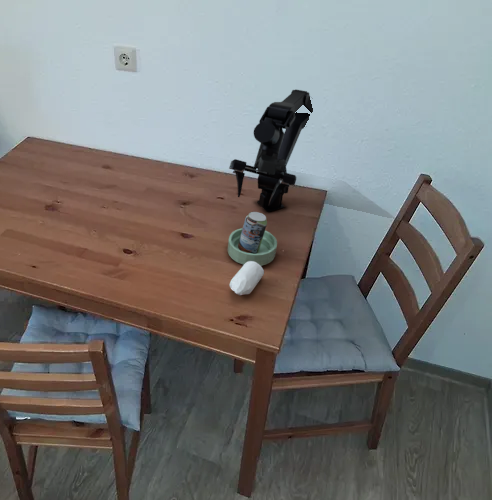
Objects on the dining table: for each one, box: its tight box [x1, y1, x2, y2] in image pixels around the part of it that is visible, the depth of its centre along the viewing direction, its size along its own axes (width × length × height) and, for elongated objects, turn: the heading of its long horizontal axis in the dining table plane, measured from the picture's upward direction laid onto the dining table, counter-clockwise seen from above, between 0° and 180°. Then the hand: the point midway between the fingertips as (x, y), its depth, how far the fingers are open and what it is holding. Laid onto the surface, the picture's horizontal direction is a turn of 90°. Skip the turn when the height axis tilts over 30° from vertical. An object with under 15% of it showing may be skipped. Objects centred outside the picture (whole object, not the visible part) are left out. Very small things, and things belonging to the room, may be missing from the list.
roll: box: [229, 261, 265, 296], centre depth 141 cm, size 6×12×6 cm, turn 147°
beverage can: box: [238, 211, 268, 254], centre depth 151 cm, size 6×7×12 cm
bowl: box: [227, 227, 278, 267], centre depth 154 cm, size 13×13×4 cm
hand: (253, 201), depth 156 cm, fingers open, 9 cm apart
